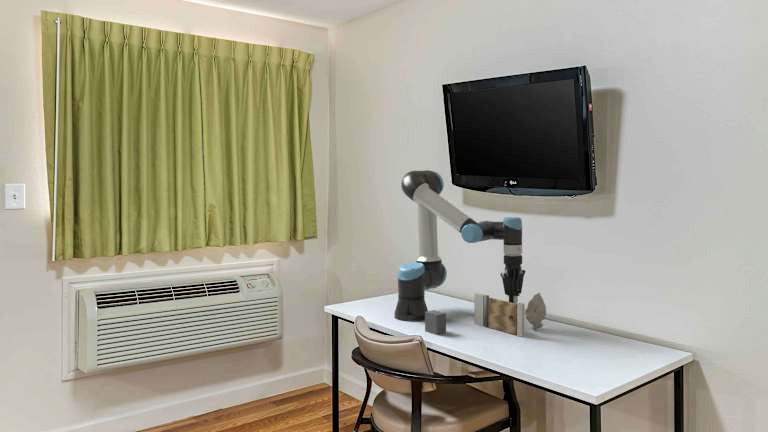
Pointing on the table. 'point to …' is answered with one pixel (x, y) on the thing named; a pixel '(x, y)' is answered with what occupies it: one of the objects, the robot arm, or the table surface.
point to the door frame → (482, 313)
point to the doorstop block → (435, 322)
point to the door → (502, 315)
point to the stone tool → (536, 311)
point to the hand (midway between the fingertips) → (513, 311)
